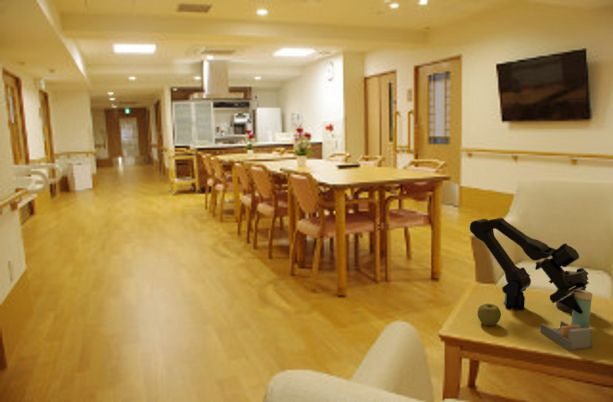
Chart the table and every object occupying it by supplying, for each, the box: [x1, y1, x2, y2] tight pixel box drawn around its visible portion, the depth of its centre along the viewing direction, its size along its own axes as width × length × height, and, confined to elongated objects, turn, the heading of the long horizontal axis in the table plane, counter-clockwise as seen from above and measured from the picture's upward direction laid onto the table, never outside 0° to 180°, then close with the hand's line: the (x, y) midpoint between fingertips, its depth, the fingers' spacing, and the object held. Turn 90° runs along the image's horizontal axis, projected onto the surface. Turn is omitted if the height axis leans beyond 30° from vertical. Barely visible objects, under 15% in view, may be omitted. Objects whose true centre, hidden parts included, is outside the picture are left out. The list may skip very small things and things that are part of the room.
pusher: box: [561, 324, 580, 339], centre depth 162 cm, size 1×6×5 cm, turn 101°
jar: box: [570, 289, 593, 328], centre depth 172 cm, size 6×6×13 cm
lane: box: [539, 320, 594, 352], centre depth 164 cm, size 14×9×6 cm, turn 11°
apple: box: [477, 303, 502, 327], centre depth 177 cm, size 8×8×7 cm
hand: (585, 311), depth 171 cm, fingers closed on jar, 5 cm apart
